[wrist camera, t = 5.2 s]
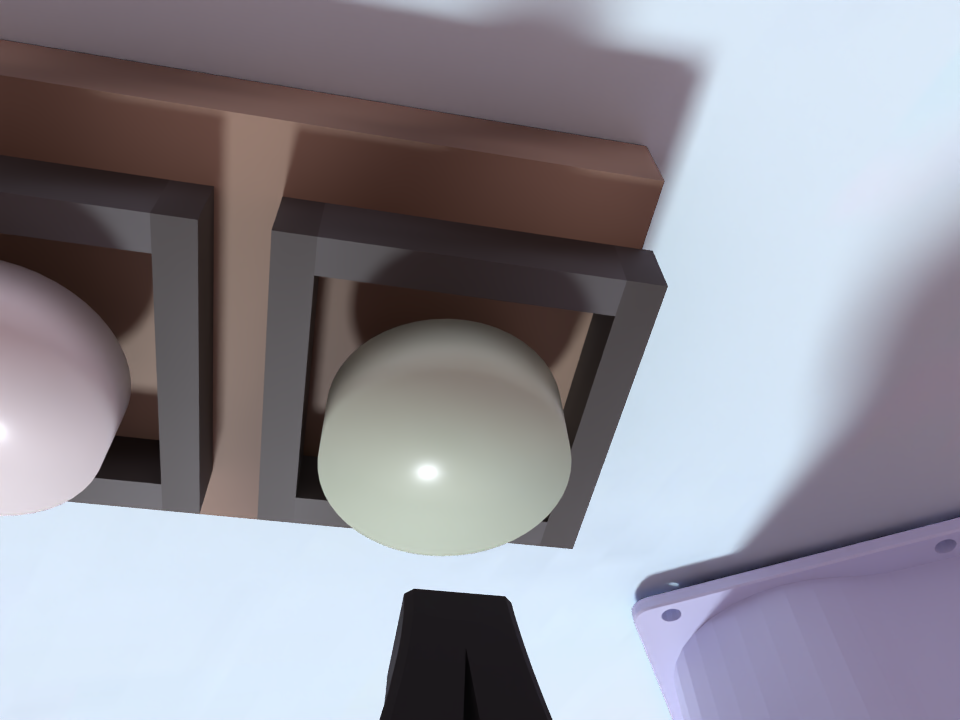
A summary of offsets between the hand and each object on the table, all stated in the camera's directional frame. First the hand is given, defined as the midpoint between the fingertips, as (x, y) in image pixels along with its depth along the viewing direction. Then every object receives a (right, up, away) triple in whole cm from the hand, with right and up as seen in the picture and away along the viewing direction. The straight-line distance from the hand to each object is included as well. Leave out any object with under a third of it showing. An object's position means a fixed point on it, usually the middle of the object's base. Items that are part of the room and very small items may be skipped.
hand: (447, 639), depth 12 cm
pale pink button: (-8, +4, +3) cm, 9 cm away
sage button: (0, +3, +4) cm, 5 cm away
